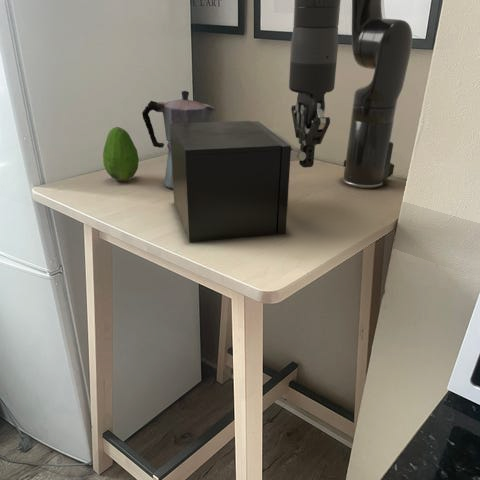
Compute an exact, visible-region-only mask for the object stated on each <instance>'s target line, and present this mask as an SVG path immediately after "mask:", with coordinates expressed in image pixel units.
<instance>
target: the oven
mask: <svg viewBox="0 0 480 480" xmlns="http://www.w3.org/2000/svg"><path fill="white" fill-rule="evenodd" d="M252 122H253V121H251V120H237V121H236V120H234V121H210V122H209V121H208V122H205V123H177V124H170V140H171V157H172V174H173V189H172V190H173V204H174V207H175V209H176V212H177V215H178V217H179V220H180V223H181V226H182V228H183V230H184V232H185V235H186V238H187V241H188V243H189V244H193V243H204V242H213V241H214V242H215V241H225V240H226V241H227V240H236V239H247V238H248V239H249V238H259V237H271V236H277V233H276V227H277V210H278V193H279V175H280V158H281V145H280V144H278V143H277V142H276V141H275V140H273V139H272V138H271V137H270V136H268V135H267V134H266V133H265V132H263V131H262V130H261V129H260V128H258V127H257V126H256V125H255V124H253V123H252Z"/></svg>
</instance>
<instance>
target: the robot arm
mask: <svg viewBox="0 0 480 480" xmlns="http://www.w3.org/2000/svg"><path fill="white" fill-rule="evenodd" d="M341 2H342V1H341V0H294V4H293V5H294V7H293V25H292V26H293V28H292V35H291V40H290V59H289V78H288V89H289V90H290V91H291V92H293V93H297V97H296V102H295V105H291V108H290V110H291V116H292V122H293V123H292V124H293V129H294V132H295V138H296V139H298V144H299V145H300V146H299V149H300V150H302V151H303V152H304V153H305V154H306V158H305V160H303V161H300V160H299V162H298V163H299V165H300V166H301V167H302V168H312V167H314V163H315V150H316V146H317V145H321V144H322V142H323V140H324V137H325V135H326V133H327V131H328V128H329V126H330V125H331V118H330V116H327V117H326V116H325V113H326V112H325V111H326V101H325V95H326V94H327V93H331V92H333V91H334V89H335V84H336V73H337V60H338V51H339V21H340V11H341ZM412 46H413V32H412V28H411V25H410V24H409V22H407V21H406V20H403V19H396V18H394V19H393V18H383V13H382V0H351V49H352V55H353V58H354V61H355V63H356V64H357V65H358V66H359V67H362V68H364V69H369V70H374V72H373V75H372V80H371V81H370V82H369V84H367V85H365V86H362V87H359V88H357V89H356V90H355V91H354V94H353V102H352V109H351V118H350V124H349V125H350V126H349V133H348V141H347V147H346V157H345V160H344V161H343V168H344V171H343V176H342V182H343V183H344V184H345V185H347V186H349V187H353V188H359V189H377V188H381V187H382V186H387V183H388V178H390V177H391V176H393V175H394V170H395V164H394V163H392V162H391V160H392V157H393V156H392V155H393V149H394V142H393V141H391V139H392V134H393V129H394V122H395V115H396V110H397V104H398V99H399V97H400V95H401V93H402V91H403V87H404V83H405V79H406V75H407V71H408V67H409V62H410V58H411V52H412Z"/></svg>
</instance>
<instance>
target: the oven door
mask: <svg viewBox="0 0 480 480" xmlns="http://www.w3.org/2000/svg"><path fill="white" fill-rule="evenodd" d="M251 122H252V123H253V124H255V125H256V126H257V127H258V128H260V129H261V130H262V131H263V132H265V133H266V134H267V135H268V136H270V137H271V138H272V139H273V140H275V141H276V142H277V143H278V144H280V145H281V158H280V175H279V193H278V210H277V227H276V236H278V235H279V236H280V235H286V234H287V218H288V203H289V202H288V201H289V187H290V171H291V162H298V161H299V160H300V161H303V160H305V158H306V154H305V153H304V152H303V151H302V150H300V147H298V146H296V145H295V144H294V143H292V142H291V141H290V140H288V139H287V138H286V137H285V136H283V135H282V134H280V133H279V132H278V131H277V132H273V131H272V130H270V129H269V128H268V127H267V126H266V125H264V124H263V123H262V122H260V121H258V120H255V121H251Z"/></svg>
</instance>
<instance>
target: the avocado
mask: <svg viewBox="0 0 480 480" xmlns="http://www.w3.org/2000/svg"><path fill="white" fill-rule="evenodd" d="M139 161H140V159H139V152H138V149H137V148H136V145H135V144H134V141H133V140H132V137H131V136H130V134H129V133H128V131H126V129H124V128H122V127H119V126H115V127H113V128H111V129H110V130H109V132H108V134H107V137H106V140H105V144H104V147H103V152H102V163H103V166H104V169H105V171H106V173H107V174H108V175H109V176H110V177H111V178H112V179H114V180H115V181H118V182H125V181H129V180H130V179H132V178H133V177H134V176H135V175H136V173H137V170H138V168H139Z"/></svg>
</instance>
